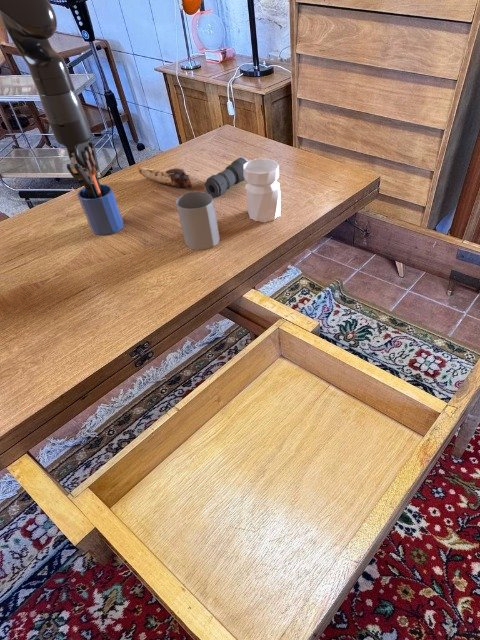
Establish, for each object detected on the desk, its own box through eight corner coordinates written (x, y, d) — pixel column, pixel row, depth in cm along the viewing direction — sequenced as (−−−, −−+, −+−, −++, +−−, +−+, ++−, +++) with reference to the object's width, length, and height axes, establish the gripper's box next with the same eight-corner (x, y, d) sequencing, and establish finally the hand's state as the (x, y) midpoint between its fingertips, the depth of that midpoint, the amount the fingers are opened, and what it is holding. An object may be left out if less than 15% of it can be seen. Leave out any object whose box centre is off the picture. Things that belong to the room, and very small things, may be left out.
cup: (182, 235, 109) (172, 195, 101) (214, 228, 111) (207, 188, 103) (189, 253, 104) (180, 212, 96) (223, 245, 106) (216, 204, 98)
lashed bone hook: (204, 181, 129) (155, 169, 134) (202, 164, 125) (151, 152, 130) (185, 194, 123) (134, 180, 128) (182, 177, 120) (130, 163, 125)
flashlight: (220, 201, 120) (216, 181, 116) (204, 196, 122) (201, 176, 118) (252, 178, 128) (250, 159, 124) (238, 174, 130) (235, 155, 126)
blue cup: (88, 235, 110) (73, 200, 103) (96, 219, 115) (82, 184, 108) (120, 234, 110) (107, 199, 103) (127, 218, 115) (115, 183, 108)
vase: (279, 222, 112) (277, 174, 103) (246, 222, 113) (240, 173, 103) (282, 205, 118) (280, 158, 109) (250, 205, 118) (245, 158, 109)
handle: (100, 226, 111) (81, 177, 102) (103, 221, 113) (84, 172, 103) (111, 226, 111) (92, 177, 102) (113, 220, 113) (95, 172, 103)
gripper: (58, 104, 97) (88, 183, 111) (36, 128, 89) (72, 211, 102) (92, 103, 97) (118, 182, 111) (74, 127, 89) (105, 210, 102)
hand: (96, 196), depth 106 cm, fingers closed on handle, 2 cm apart
